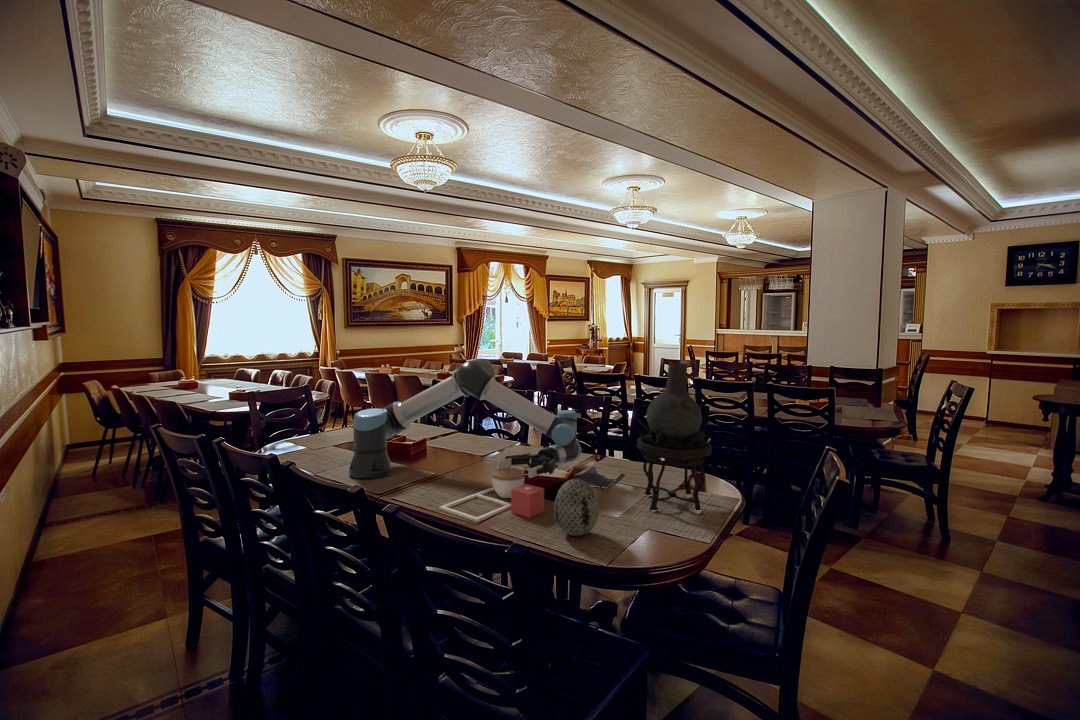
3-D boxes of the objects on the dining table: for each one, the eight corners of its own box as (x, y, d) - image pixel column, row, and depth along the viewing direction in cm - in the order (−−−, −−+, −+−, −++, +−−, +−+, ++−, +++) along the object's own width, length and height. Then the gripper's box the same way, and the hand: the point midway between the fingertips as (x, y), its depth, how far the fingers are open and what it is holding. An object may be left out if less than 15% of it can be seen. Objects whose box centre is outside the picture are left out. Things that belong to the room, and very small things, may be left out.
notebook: (592, 470, 195) (572, 485, 176) (592, 466, 195) (572, 481, 176) (623, 475, 190) (607, 491, 171) (623, 471, 190) (607, 486, 170)
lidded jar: (523, 501, 158) (524, 472, 157) (490, 500, 158) (490, 471, 157) (525, 490, 168) (525, 463, 168) (493, 489, 168) (493, 462, 168)
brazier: (630, 511, 151) (634, 363, 148) (641, 489, 172) (645, 359, 169) (708, 522, 143) (714, 366, 140) (709, 497, 164) (715, 362, 161)
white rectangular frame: (505, 484, 174) (505, 482, 174) (541, 494, 165) (541, 492, 165) (439, 509, 150) (439, 506, 150) (477, 522, 140) (477, 519, 140)
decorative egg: (565, 546, 125) (567, 488, 124) (546, 529, 136) (547, 475, 135) (605, 539, 130) (607, 483, 129) (584, 523, 141) (585, 471, 140)
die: (525, 506, 154) (526, 483, 153) (543, 511, 149) (544, 487, 149) (511, 512, 148) (511, 488, 148) (529, 518, 144) (529, 493, 143)
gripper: (579, 473, 173) (543, 488, 156) (524, 461, 188) (485, 473, 171) (580, 452, 172) (543, 465, 156) (524, 441, 188) (485, 452, 171)
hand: (513, 469), depth 163 cm, fingers open, 13 cm apart
